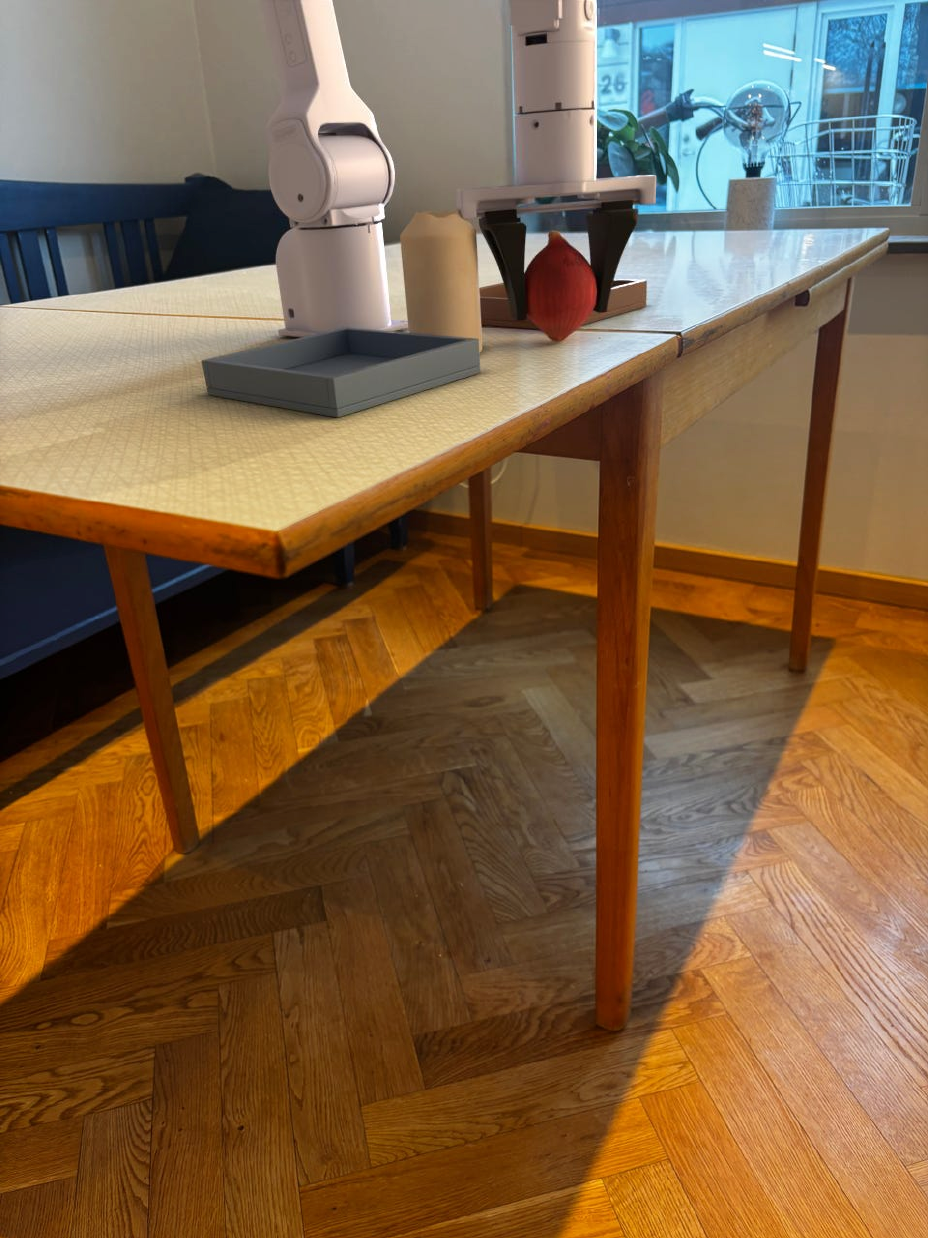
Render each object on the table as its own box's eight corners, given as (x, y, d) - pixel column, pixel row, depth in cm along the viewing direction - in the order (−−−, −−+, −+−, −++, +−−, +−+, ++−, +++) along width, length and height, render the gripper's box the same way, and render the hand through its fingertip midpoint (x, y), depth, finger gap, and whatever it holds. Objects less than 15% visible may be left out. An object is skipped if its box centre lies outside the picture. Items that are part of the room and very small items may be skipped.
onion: (595, 333, 73) (596, 224, 70) (598, 346, 68) (598, 230, 65) (523, 336, 74) (519, 229, 70) (520, 350, 69) (516, 235, 65)
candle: (429, 363, 66) (417, 214, 62) (399, 353, 71) (386, 212, 66) (495, 352, 69) (488, 207, 64) (462, 342, 73) (453, 206, 69)
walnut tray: (443, 322, 83) (441, 295, 82) (531, 300, 92) (530, 276, 91) (562, 331, 75) (562, 301, 74) (646, 306, 84) (647, 279, 83)
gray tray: (207, 394, 62) (200, 360, 61) (350, 357, 71) (346, 326, 70) (337, 417, 54) (333, 378, 53) (481, 372, 63) (479, 338, 62)
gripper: (465, 116, 59) (476, 331, 66) (675, 102, 62) (668, 312, 68) (446, 121, 66) (458, 317, 72) (637, 108, 68) (634, 300, 74)
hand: (558, 314), depth 70 cm, fingers closed on onion, 6 cm apart
